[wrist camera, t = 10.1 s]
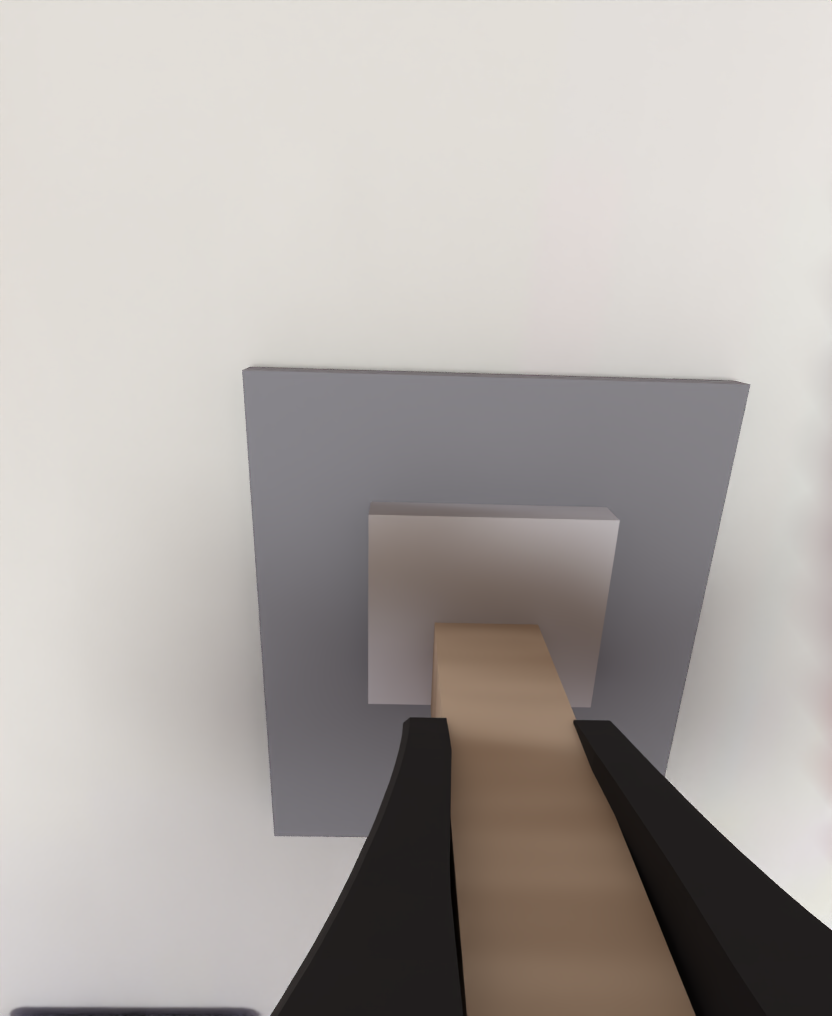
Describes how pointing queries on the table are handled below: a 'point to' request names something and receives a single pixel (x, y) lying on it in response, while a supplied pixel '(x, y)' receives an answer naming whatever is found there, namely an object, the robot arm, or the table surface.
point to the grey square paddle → (518, 750)
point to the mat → (467, 480)
